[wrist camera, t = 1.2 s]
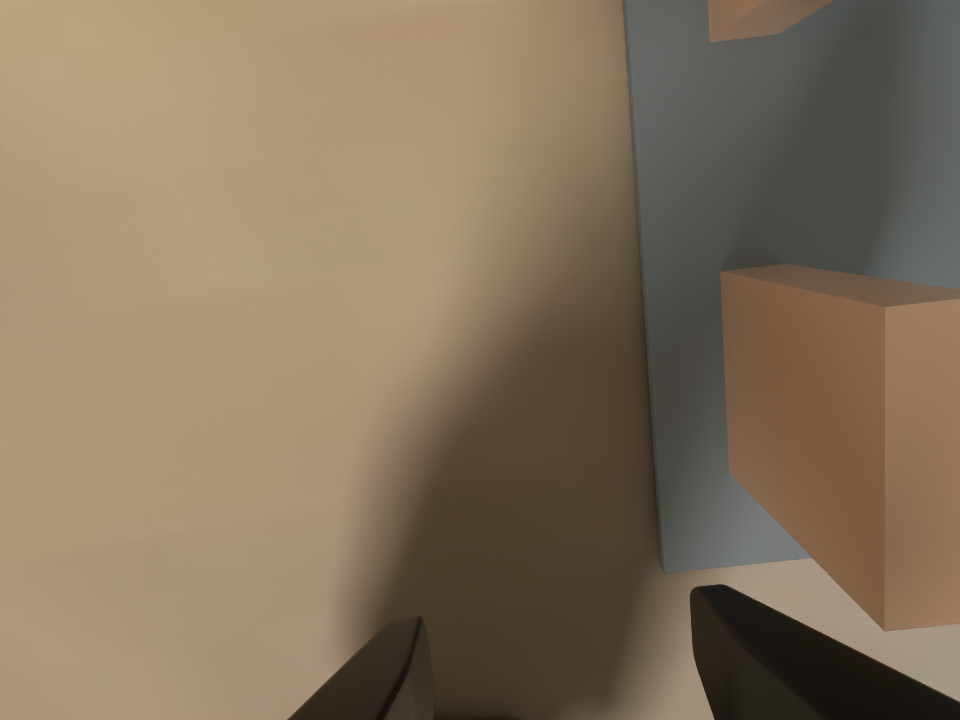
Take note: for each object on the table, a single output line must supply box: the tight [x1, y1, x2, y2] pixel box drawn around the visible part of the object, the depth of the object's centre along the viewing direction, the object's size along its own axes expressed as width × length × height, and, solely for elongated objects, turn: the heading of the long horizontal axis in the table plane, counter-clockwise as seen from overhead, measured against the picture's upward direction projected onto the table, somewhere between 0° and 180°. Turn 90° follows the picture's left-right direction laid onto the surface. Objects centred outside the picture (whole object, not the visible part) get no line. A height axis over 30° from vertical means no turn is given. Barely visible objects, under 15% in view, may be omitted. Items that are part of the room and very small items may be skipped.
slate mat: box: [623, 0, 960, 573], centre depth 19 cm, size 24×16×1 cm, turn 7°
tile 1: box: [720, 264, 960, 631], centre depth 16 cm, size 6×2×8 cm, turn 7°
